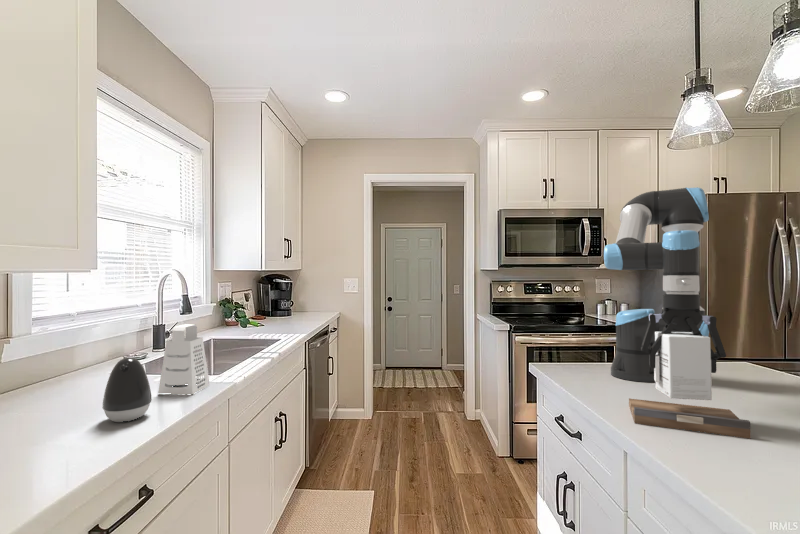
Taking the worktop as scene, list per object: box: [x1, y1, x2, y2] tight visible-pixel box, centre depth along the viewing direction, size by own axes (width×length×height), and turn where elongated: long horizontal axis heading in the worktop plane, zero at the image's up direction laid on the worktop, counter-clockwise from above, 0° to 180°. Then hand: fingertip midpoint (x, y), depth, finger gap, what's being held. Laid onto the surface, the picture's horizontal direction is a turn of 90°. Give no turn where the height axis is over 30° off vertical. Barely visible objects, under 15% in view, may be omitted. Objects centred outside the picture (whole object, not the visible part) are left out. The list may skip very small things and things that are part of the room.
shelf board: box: [628, 397, 751, 439], centre depth 100 cm, size 14×22×4 cm, turn 66°
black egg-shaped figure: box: [101, 357, 152, 423], centre depth 102 cm, size 10×10×15 cm
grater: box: [157, 323, 211, 395], centre depth 127 cm, size 10×10×20 cm
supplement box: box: [655, 332, 713, 401], centre depth 101 cm, size 9×9×15 cm
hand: (681, 383), depth 101 cm, fingers closed on supplement box, 10 cm apart
